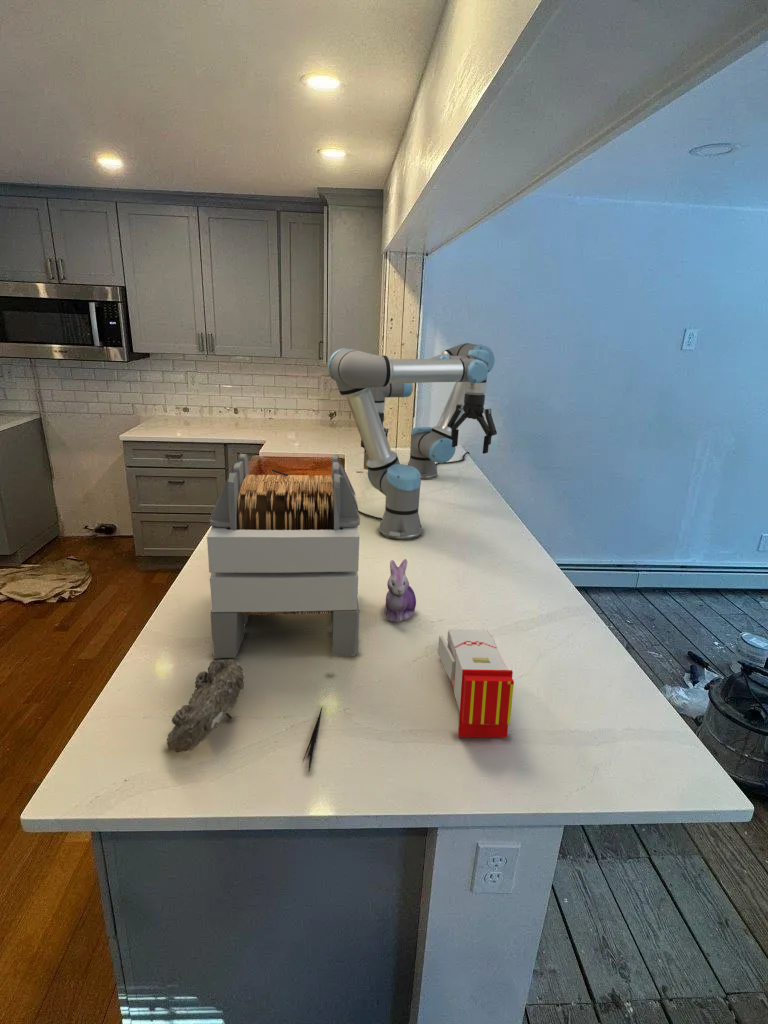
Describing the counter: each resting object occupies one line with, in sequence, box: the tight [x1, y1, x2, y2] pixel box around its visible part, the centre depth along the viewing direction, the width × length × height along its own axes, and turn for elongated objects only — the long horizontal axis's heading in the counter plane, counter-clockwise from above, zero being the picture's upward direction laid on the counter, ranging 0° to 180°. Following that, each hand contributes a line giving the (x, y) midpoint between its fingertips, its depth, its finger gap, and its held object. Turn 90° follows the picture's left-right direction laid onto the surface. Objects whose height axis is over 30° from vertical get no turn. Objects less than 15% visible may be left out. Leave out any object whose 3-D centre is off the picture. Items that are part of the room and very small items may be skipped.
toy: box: [437, 628, 515, 738], centre depth 117 cm, size 12×13×30 cm
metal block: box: [363, 452, 369, 471], centre depth 244 cm, size 6×6×7 cm
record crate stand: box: [206, 452, 361, 660], centre depth 135 cm, size 34×33×41 cm
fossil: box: [166, 658, 245, 754], centre depth 106 cm, size 22×10×15 cm
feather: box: [301, 673, 332, 771], centre depth 108 cm, size 2×28×2 cm
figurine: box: [384, 558, 417, 623], centre depth 145 cm, size 9×10×15 cm
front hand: (469, 449), depth 216 cm, fingers open, 13 cm apart
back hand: (373, 465), depth 245 cm, fingers closed on metal block, 5 cm apart
